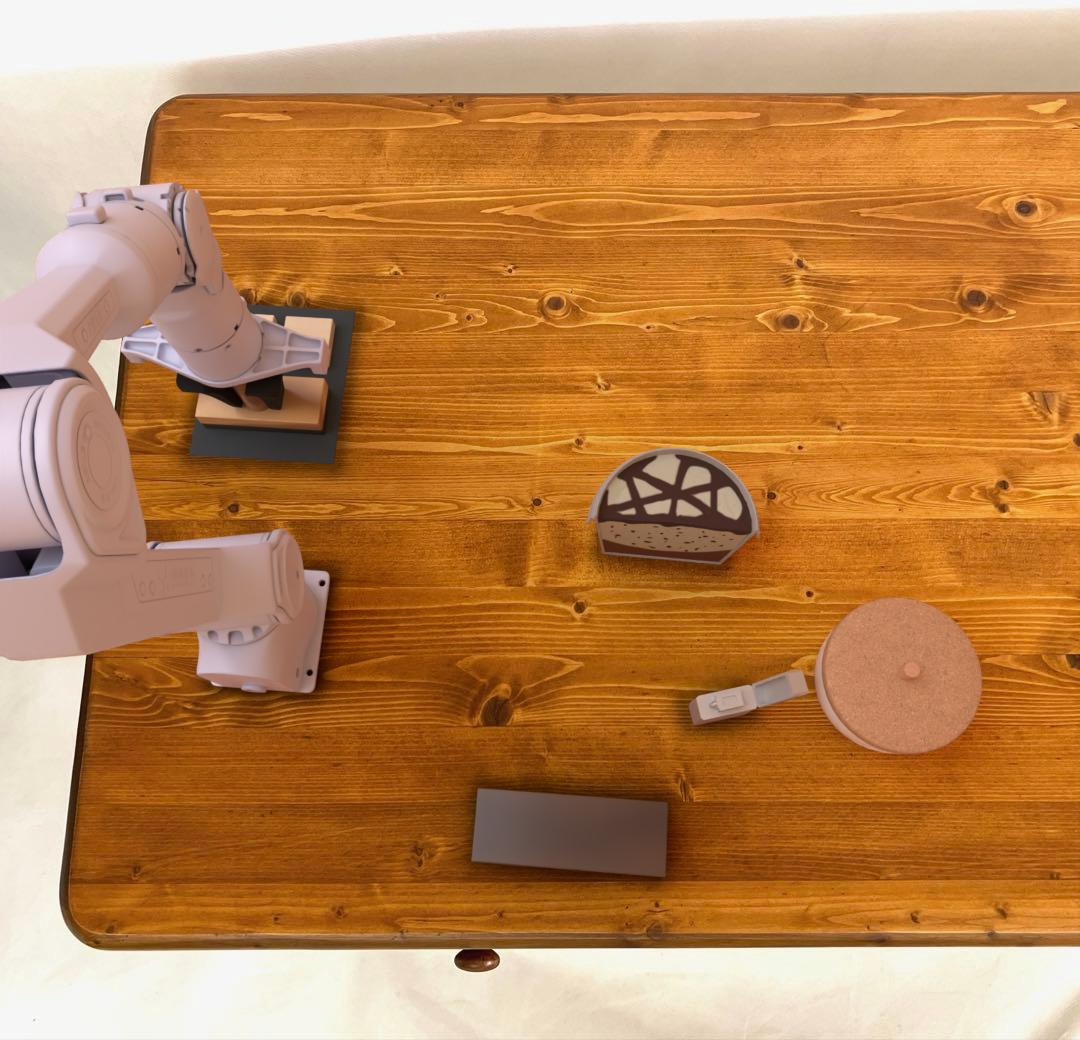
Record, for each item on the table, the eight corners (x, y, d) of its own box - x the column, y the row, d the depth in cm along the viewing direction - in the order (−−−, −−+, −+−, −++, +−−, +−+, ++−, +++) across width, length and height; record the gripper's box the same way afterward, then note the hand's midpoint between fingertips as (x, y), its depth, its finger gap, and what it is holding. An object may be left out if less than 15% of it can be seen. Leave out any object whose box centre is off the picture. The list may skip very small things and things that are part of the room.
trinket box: (936, 772, 72) (990, 765, 63) (790, 745, 73) (824, 736, 64) (944, 630, 75) (997, 605, 66) (805, 606, 76) (838, 578, 67)
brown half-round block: (742, 492, 79) (768, 448, 69) (739, 566, 77) (765, 531, 67) (589, 479, 79) (594, 432, 70) (583, 552, 78) (587, 514, 68)
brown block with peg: (325, 435, 80) (300, 395, 73) (205, 428, 81) (168, 387, 73) (331, 390, 82) (308, 346, 74) (213, 384, 82) (177, 339, 74)
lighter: (693, 726, 74) (709, 715, 66) (687, 703, 74) (703, 690, 66) (784, 705, 74) (811, 692, 66) (778, 683, 74) (803, 667, 67)
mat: (334, 465, 80) (333, 463, 80) (190, 456, 80) (188, 454, 80) (356, 312, 84) (355, 310, 84) (218, 304, 84) (217, 302, 84)
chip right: (329, 367, 82) (326, 361, 81) (282, 365, 82) (278, 358, 81) (335, 325, 83) (332, 318, 82) (289, 322, 83) (285, 315, 82)
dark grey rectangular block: (656, 872, 71) (665, 877, 65) (477, 858, 71) (470, 861, 65) (659, 803, 72) (668, 802, 66) (483, 789, 72) (477, 787, 67)
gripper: (316, 267, 66) (355, 357, 79) (106, 255, 67) (179, 346, 80) (301, 362, 64) (344, 438, 77) (85, 349, 65) (163, 426, 78)
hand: (259, 397), depth 79 cm, fingers closed on brown block with peg, 2 cm apart
